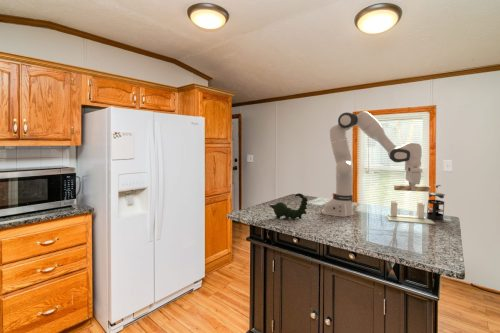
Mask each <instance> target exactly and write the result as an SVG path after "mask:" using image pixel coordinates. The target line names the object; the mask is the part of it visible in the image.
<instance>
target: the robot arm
mask: <svg viewBox="0 0 500 333" xmlns="http://www.w3.org/2000/svg"><path fill="white" fill-rule="evenodd" d="M337 123H338V124H335V125H333V126H332V127H331V128H330V129H329V139H330V144H331V149H332V153H333V157H334V161H335V164H336V166H335V193H334V192H332V195H331V196H332V199H330V200H329V201H327V202H326V203H325V206H324V208H323V209H321V214H323V215H326V216H327V215H328V216H335V217H343V218H346V217H350V216H351V217H352V216H354V215H355V213H354V208H353V203H354V196H353V186H354V185H353V184H354V183H353V182H354V181H353V180H354V178H353V176H354V175H353V173H354V164H353V159H352V155H351V151H350V145H349V142H348V137H347V131H349V130H350V129H352V128H353V127H355V126H356V127H358V128H359V129H360V130H361V131H362V132H363V133H364V134H365V135H366V136H367V137H369V138H370V139H372V140H375V141H376V142H377V143H379V145H381V146H382V148H383V149H385V151H386V152H387V155H388V158H389V159H390V161H392V162H394V163H402V162H404V171H405V181H407V182H408V185H409V186H411V190H415V186H417V185H420V183H421V179H422V172H423V168H422V161H421V160H422V156H423V155H422V153H423V150H422V146H421V144H420V143H417V142H416V143H415V142H411V141H410V142H407V143H405V144H403V145H401V146H397V145H396V144H394V142H392V141H391V139H390V138H389V137H388V136H387V134H386V133H385V130H384V127H383V126H382V124H381V122H379V120H378V119H377V118H376V117H374V116H373V115H372V114H371V113H369V112H368V111H364V110H363V111H360V112H359V113H357V114H356V113H351V112H343V113H341V114H340V115H339V116H338V118H337Z"/></svg>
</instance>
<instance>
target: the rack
mask: <svg viewBox="0 0 500 333" xmlns="http://www.w3.org/2000/svg"><path fill="white" fill-rule="evenodd" d="M416 203H417V204H416V215H408V214H398V202H397V201H396V200H391V202H390V213H388V217H400V218H413V219H427V217H426V216H425V206H426V205H425V203H423V202H416Z"/></svg>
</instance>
